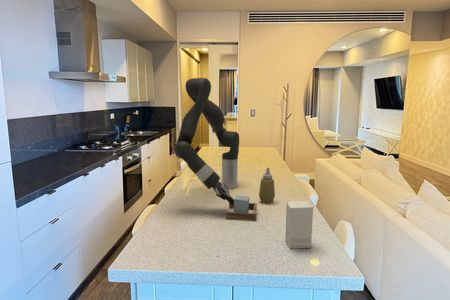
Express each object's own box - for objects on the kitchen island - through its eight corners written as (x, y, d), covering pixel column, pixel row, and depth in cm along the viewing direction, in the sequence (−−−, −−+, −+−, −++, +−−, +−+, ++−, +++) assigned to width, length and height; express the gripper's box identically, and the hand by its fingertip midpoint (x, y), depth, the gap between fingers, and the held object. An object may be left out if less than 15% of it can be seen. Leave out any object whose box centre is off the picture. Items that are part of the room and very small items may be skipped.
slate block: (235, 211, 140) (236, 194, 138) (248, 213, 138) (249, 196, 137) (233, 216, 134) (234, 199, 133) (246, 217, 133) (247, 200, 131)
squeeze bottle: (262, 205, 148) (263, 170, 145) (256, 200, 156) (257, 166, 153) (277, 204, 151) (278, 169, 147) (270, 199, 158) (272, 165, 155)
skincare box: (306, 240, 112) (308, 200, 110) (311, 249, 106) (314, 207, 103) (284, 240, 112) (286, 200, 109) (288, 249, 106) (290, 207, 103)
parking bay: (229, 207, 145) (229, 201, 144) (256, 209, 143) (256, 203, 143) (225, 219, 131) (225, 212, 131) (255, 221, 129) (255, 214, 129)
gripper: (210, 174, 129) (238, 203, 129) (215, 167, 142) (241, 193, 142) (198, 185, 131) (226, 214, 131) (204, 177, 143) (229, 203, 144)
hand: (233, 203), depth 137 cm, fingers closed
